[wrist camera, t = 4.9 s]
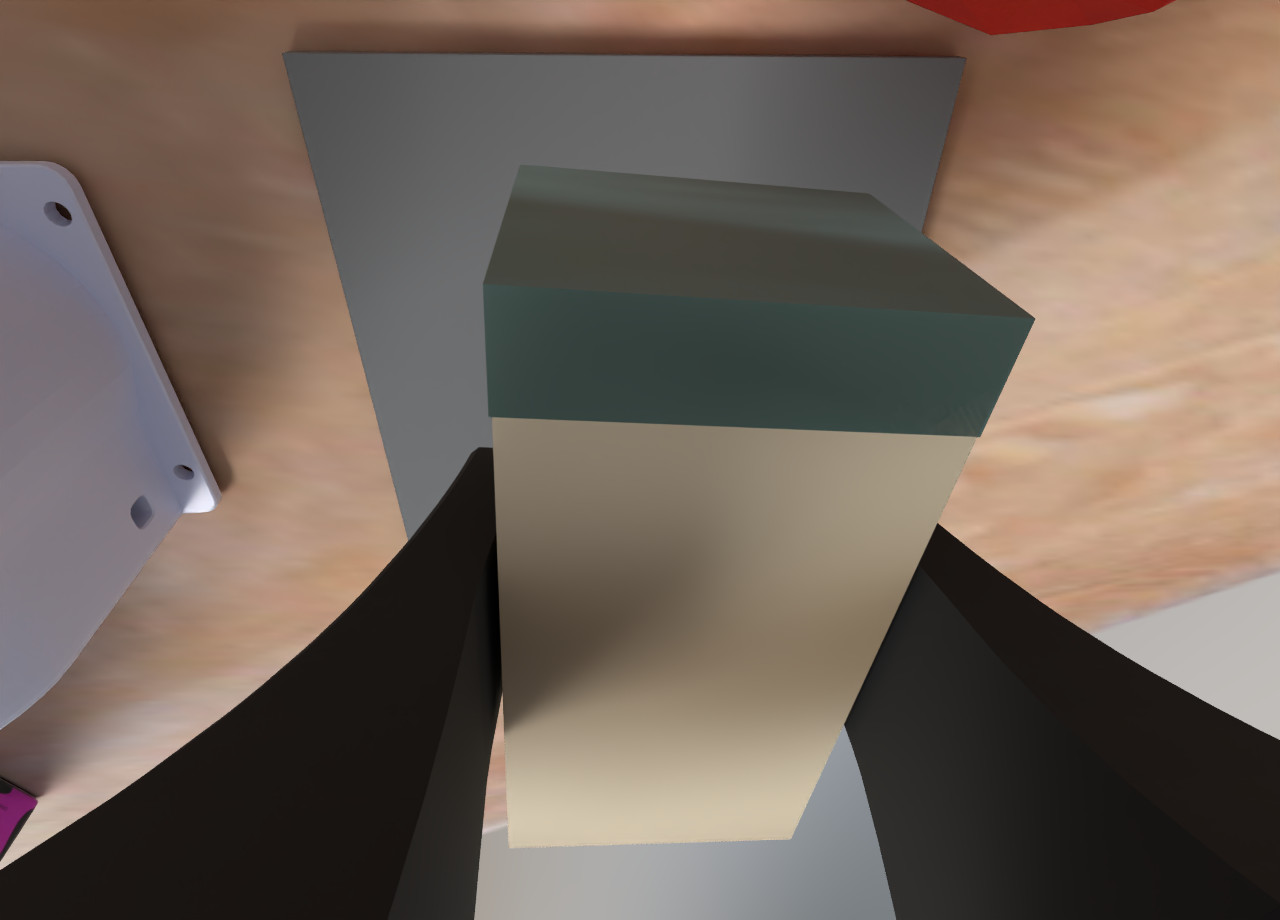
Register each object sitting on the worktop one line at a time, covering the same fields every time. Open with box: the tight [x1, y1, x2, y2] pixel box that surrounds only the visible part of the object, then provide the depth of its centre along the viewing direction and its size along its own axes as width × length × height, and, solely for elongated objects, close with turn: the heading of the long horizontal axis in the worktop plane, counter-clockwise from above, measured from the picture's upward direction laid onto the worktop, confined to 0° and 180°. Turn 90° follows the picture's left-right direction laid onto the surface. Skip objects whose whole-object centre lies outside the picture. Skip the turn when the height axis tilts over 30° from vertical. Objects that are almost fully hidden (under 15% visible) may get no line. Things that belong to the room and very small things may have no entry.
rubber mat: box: [282, 51, 966, 541], centre depth 20 cm, size 20×14×1 cm
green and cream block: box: [483, 164, 1035, 848], centre depth 10 cm, size 9×5×4 cm, turn 175°
